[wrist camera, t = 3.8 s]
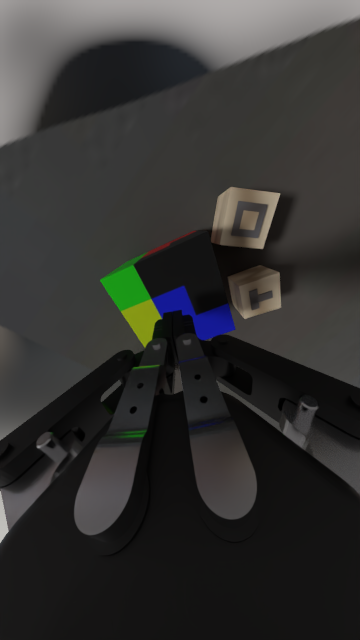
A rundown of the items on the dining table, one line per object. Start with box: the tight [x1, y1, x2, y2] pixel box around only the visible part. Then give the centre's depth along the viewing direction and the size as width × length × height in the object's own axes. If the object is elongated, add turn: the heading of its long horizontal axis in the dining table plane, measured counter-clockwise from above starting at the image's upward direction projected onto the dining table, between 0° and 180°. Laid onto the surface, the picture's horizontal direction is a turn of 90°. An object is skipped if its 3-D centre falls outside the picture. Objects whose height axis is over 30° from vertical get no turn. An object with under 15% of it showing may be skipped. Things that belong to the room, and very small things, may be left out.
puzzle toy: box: [100, 231, 235, 347], centre depth 20 cm, size 10×10×10 cm
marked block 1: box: [211, 187, 280, 249], centre depth 19 cm, size 5×5×5 cm
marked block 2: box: [227, 265, 281, 319], centre depth 23 cm, size 5×5×5 cm
